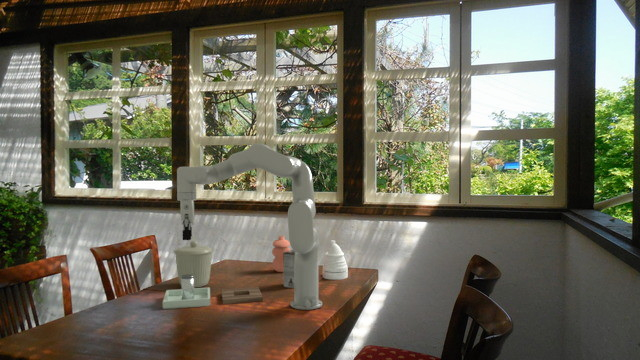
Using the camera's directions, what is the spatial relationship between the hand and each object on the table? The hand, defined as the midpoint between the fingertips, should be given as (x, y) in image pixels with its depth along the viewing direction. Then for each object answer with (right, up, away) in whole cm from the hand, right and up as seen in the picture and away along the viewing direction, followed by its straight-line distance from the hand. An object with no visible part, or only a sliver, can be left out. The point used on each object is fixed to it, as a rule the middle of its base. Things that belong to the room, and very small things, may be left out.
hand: (187, 238), depth 188 cm
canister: (-5, -26, +27) cm, 38 cm away
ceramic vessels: (+41, -25, +47) cm, 68 cm away
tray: (0, -26, +1) cm, 26 cm away
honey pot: (+62, -25, +44) cm, 81 cm away
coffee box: (+42, -26, +27) cm, 56 cm away
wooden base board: (+21, -26, +6) cm, 34 cm away
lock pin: (0, -26, +1) cm, 26 cm away
